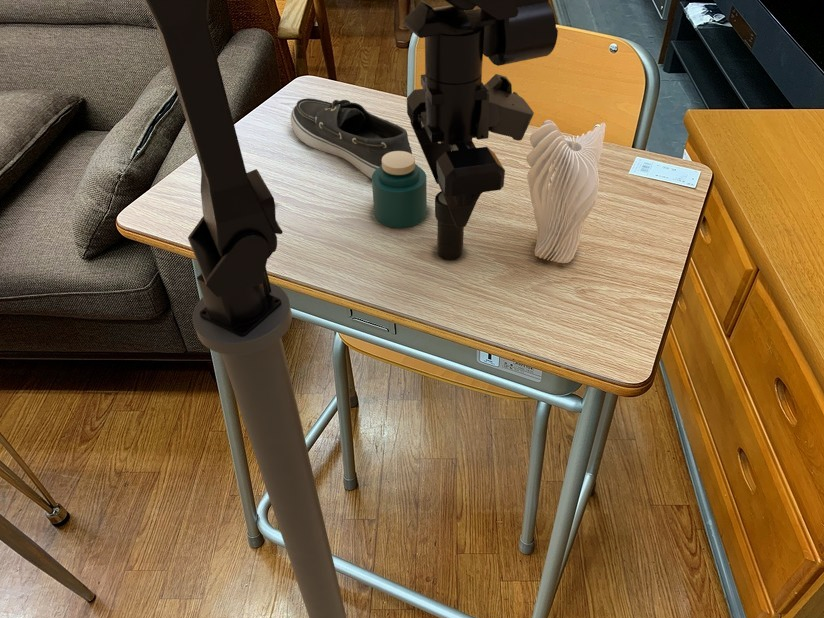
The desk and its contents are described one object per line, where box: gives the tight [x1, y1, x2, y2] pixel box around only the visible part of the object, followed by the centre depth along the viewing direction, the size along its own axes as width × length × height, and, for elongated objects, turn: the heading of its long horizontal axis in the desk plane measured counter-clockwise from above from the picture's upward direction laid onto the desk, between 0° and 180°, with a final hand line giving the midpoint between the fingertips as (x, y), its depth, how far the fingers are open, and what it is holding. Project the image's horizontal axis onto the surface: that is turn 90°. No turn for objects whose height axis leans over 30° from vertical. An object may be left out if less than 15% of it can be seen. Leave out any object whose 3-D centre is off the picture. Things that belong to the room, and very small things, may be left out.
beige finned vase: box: [526, 119, 607, 264], centre depth 77 cm, size 8×8×18 cm
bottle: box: [371, 151, 428, 229], centre depth 86 cm, size 7×7×8 cm
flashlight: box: [434, 190, 465, 261], centre depth 80 cm, size 4×4×8 cm
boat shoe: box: [290, 97, 413, 180], centre depth 97 cm, size 9×26×7 cm, turn 46°
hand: (450, 203), depth 78 cm, fingers open, 9 cm apart
